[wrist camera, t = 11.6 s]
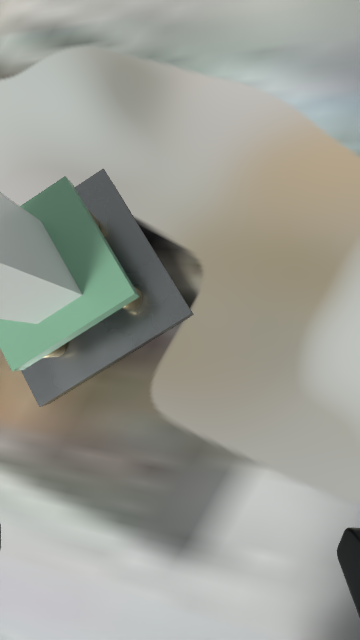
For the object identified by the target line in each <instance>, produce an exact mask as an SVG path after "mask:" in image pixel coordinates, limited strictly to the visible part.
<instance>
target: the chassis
mask: <svg viewBox="0 0 360 640" xmlns="http://www.w3.org/2000/svg"><path fill="white" fill-rule="evenodd" d="M75 189H76V191H77V192H78V194H79V196H80V197H81V199H82V201H83V202H84V204H85V206H86V207H87V209H88V211H89V212H90V214H91V216H92V217H93V219H94V221H95V222H96V224H97V226H98V227H99V229H100V231H101V233H102V234H103V236H104V238H105V239H106V241H107V243H108V244H109V246H110V248H111V249H112V251H113V253H114V254H115V256H116V258H117V259H118V261H119V263H120V264H121V266H122V268H123V269H124V271H125V273H126V275H127V276H128V278H129V280H130V281H131V283H132V285H133V286H134V288H135V290H136V291H137V293H138V295H139V296H140V297H138V298H137V299H135V300H134V301H132V302H130V303H129V304H127V305H126V306H124V307H122V308H121V309H119V310H118V311H116V312H115V313H113V314H111V315H110V316H108V317H107V318H105V319H103V320H102V321H100V322H99V323H97V324H96V325H94V326H92V327H91V328H89V329H88V330H86V331H84V332H83V333H81V334H80V335H78V336H77V337H75V338H73V339H72V340H70V341H69V342H67V343H65V344H64V345H62V346H61V347H59V348H58V349H56V350H54V351H53V352H51V353H50V354H48V355H46V356H45V357H43V358H42V359H40V360H39V361H37V362H35V363H34V364H32V365H31V366H29V367H27V368H26V369H24V370H21V371H22V373H23V375H24V377H25V379H26V381H27V383H28V385H29V387H30V389H31V391H32V393H33V395H34V397H35V399H36V401H37V403H38V405H39V407H41V406H44V405H47V404H50V403H51V402H53V401H55V400H56V399H58V398H59V397H61V396H63V395H64V394H66V393H68V392H69V391H71V390H72V389H74V388H76V387H77V386H79V385H81V384H82V383H84V382H85V381H87V380H89V379H90V378H92V377H93V376H95V375H97V374H98V373H100V372H102V371H103V370H105V369H106V368H108V367H110V366H111V365H113V364H115V363H116V362H118V361H119V360H121V359H123V358H124V357H126V356H128V355H129V354H131V353H132V352H134V351H136V350H137V349H139V348H141V347H142V346H144V345H145V344H147V343H149V342H150V341H152V340H154V339H155V338H157V337H158V336H160V335H162V334H163V333H165V332H166V331H168V330H170V329H171V328H173V327H175V326H176V325H178V324H179V323H181V322H183V321H184V320H186V319H188V318H189V317H190V316H192V315H193V313H192V311H191V310H190V308H189V306H188V305H187V303H186V302H185V300H184V298H183V297H182V295H181V293H180V292H179V290H178V289H177V287H176V285H175V284H174V282H173V280H172V279H171V277H170V276H169V274H168V272H167V271H166V269H165V267H164V266H163V264H162V263H161V261H160V259H159V258H158V256H157V254H156V253H155V251H154V250H153V248H152V246H151V245H150V243H149V241H148V240H147V238H146V236H145V235H144V233H143V232H142V230H141V228H140V227H139V225H138V223H137V222H136V220H135V219H134V217H133V215H132V214H131V212H130V210H129V209H128V207H127V206H126V204H125V202H124V201H123V199H122V197H121V196H120V194H119V193H118V191H117V189H116V188H115V186H114V185H113V183H112V181H111V180H110V178H109V176H108V175H107V173H106V172H105V170H104V169H102V170H101V171H99V172H98V173H96V174H94V175H93V176H91V177H90V178H89V179H87V180H85V181H84V182H82V183H81V184H79V185H78V186H76V187H75Z"/></svg>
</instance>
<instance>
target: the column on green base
mask: <svg viewBox="0 0 360 640" xmlns="http://www.w3.org/2000/svg"><path fill="white" fill-rule="evenodd" d="M138 297H140V296H139V295H138V293H137V291H136V290H135V288H134V286H133V285H132V283H131V281H130V280H129V278H128V276H127V275H126V273H125V271H124V269H123V268H122V266H121V264H120V263H119V261H118V259H117V258H116V256H115V254H114V253H113V251H112V249H111V248H110V246H109V244H108V243H107V241H106V239H105V238H104V236H103V234H102V233H101V231H100V229H99V227H98V226H97V224H96V222H95V221H94V219H93V217H92V216H91V214H90V212H89V211H88V209H87V207H86V206H85V204H84V202H83V201H82V199H81V197H80V196H79V194H78V192H77V191H76V189H75V187H74V186H73V184H72V183H71V182H70V181H69V180H68V179H67V178H66V177H63V178H62V179H60V180H59V181H57V182H56V183H54V184H53V185H51V186H50V187H48V188H47V189H45V190H44V191H42V192H41V193H39V194H38V195H37V196H35V197H33V198H32V199H31V200H29V201H27V202H26V203H24V204H23V205H21V206H19V205H17V204H16V203H15V202H13V201H12V200H10V199H9V198H8V197H6V196H5V195H3V194H2V193H1V192H0V348H1V350H2V352H3V354H4V356H5V358H6V360H7V362H8V364H9V366H10V368H11V370H12V371H19V370H24V369H26V368H27V367H29V366H31V365H32V364H34V363H35V362H37V361H39V360H40V359H42V358H43V357H45V356H46V355H48V354H50V353H51V352H53V351H54V350H56V349H58V348H59V347H61V346H62V345H64V344H65V343H67V342H69V341H70V340H72V339H73V338H75V337H77V336H78V335H80V334H81V333H83V332H84V331H86V330H88V329H89V328H91V327H92V326H94V325H96V324H97V323H99V322H100V321H102V320H103V319H105V318H107V317H108V316H110V315H111V314H113V313H115V312H116V311H118V310H119V309H121V308H122V307H124V306H126V305H127V304H129V303H130V302H132V301H134V300H135V299H137V298H138Z"/></svg>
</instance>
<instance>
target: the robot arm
mask: <svg viewBox="0 0 360 640" xmlns="http://www.w3.org/2000/svg"><path fill="white" fill-rule="evenodd" d="M0 549H1V525H0ZM337 556H338V560H339V563H340V565H341V568H342V571H343V573H344V576H345V579H346V582H347V584H348V587H349V590H350V593H351V595H352V598H353V601H354V603H355V606H356V609H357V612H358V614H359V617H360V528H347V529H346V530H345V531H344V533H343V536H342V538H341V541H340V543H339V545H338V548H337Z"/></svg>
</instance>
